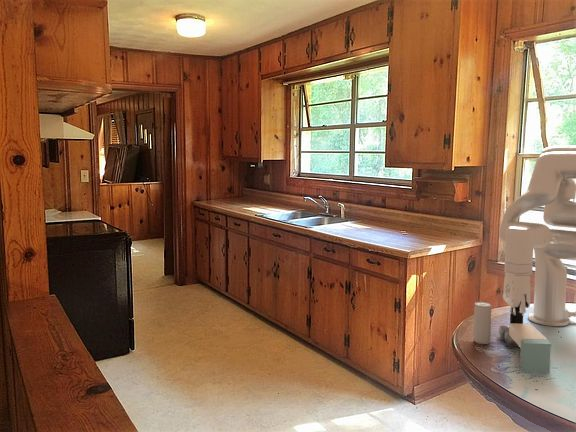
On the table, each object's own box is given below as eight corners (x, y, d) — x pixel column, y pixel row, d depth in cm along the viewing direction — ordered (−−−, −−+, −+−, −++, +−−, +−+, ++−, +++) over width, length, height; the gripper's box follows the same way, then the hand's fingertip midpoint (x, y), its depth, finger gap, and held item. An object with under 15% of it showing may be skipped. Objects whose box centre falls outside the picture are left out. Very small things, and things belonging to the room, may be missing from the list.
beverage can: (491, 345, 146) (492, 306, 145) (474, 344, 147) (475, 306, 146) (488, 339, 151) (489, 301, 149) (472, 338, 152) (473, 301, 150)
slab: (530, 335, 142) (530, 323, 142) (546, 351, 131) (547, 339, 130) (509, 334, 143) (509, 323, 143) (523, 351, 131) (523, 338, 131)
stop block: (545, 368, 130) (546, 339, 129) (549, 373, 127) (550, 343, 126) (519, 367, 131) (521, 339, 130) (523, 372, 128) (525, 343, 127)
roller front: (525, 343, 147) (525, 330, 146) (529, 348, 143) (530, 335, 142) (504, 342, 148) (504, 330, 147) (508, 348, 144) (509, 335, 143)
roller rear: (518, 336, 152) (519, 324, 152) (523, 341, 148) (523, 329, 148) (498, 336, 153) (499, 324, 153) (502, 341, 149) (503, 328, 149)
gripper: (497, 262, 152) (495, 318, 154) (513, 274, 137) (511, 336, 139) (522, 261, 151) (520, 318, 153) (541, 274, 136) (539, 336, 138)
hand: (516, 326), depth 146 cm, fingers closed
